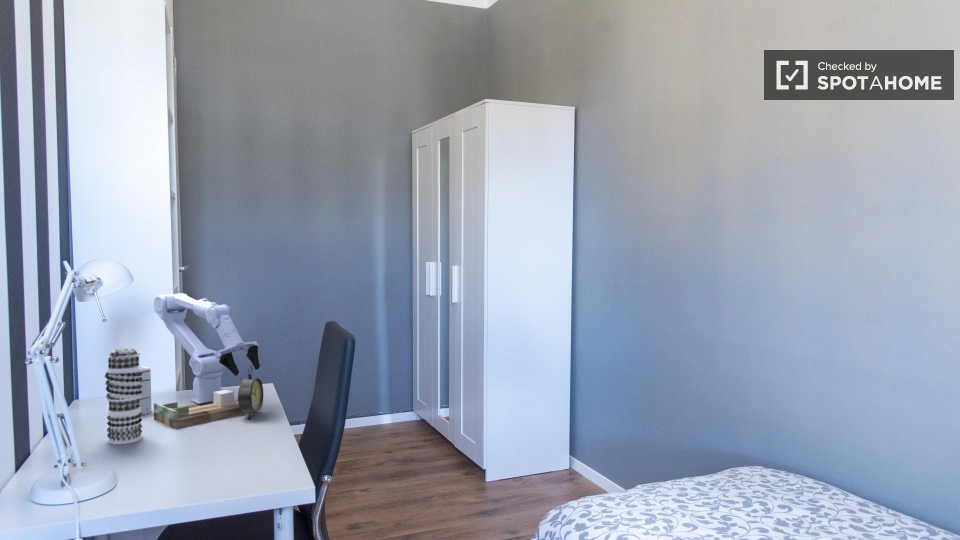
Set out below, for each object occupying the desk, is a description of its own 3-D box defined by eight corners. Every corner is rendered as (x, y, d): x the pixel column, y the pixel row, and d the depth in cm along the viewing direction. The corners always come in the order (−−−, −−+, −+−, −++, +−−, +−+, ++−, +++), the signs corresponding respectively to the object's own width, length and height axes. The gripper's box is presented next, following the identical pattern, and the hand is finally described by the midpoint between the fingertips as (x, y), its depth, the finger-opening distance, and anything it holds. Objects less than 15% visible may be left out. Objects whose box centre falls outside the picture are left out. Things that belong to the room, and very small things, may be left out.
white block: (213, 404, 212) (213, 392, 212) (226, 401, 215) (226, 389, 215) (220, 406, 209) (220, 394, 209) (233, 404, 212) (233, 391, 212)
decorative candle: (104, 446, 176) (102, 353, 175) (107, 436, 185) (106, 348, 183) (142, 442, 180) (141, 351, 179) (144, 433, 188) (143, 346, 187)
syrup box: (152, 412, 210) (151, 367, 209) (134, 416, 205) (133, 370, 204) (142, 409, 213) (141, 365, 212) (124, 413, 208) (123, 368, 207)
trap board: (153, 419, 202) (153, 403, 202) (227, 404, 220) (227, 390, 220) (175, 428, 193) (175, 411, 193) (249, 412, 211) (249, 397, 211)
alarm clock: (252, 420, 202) (252, 368, 201) (234, 420, 202) (234, 368, 201) (264, 411, 213) (264, 361, 212) (248, 411, 213) (247, 361, 212)
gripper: (213, 334, 210) (232, 370, 206) (253, 325, 221) (271, 359, 217) (206, 346, 214) (223, 381, 210) (245, 336, 225) (263, 370, 221)
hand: (247, 371), depth 214 cm, fingers open, 7 cm apart
